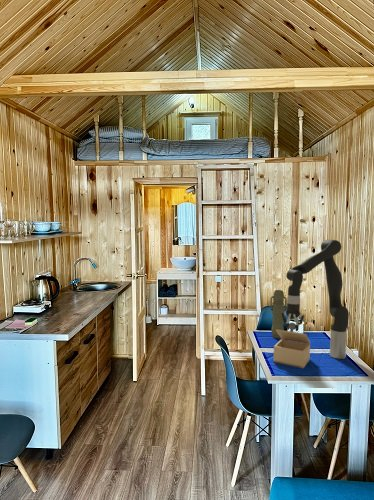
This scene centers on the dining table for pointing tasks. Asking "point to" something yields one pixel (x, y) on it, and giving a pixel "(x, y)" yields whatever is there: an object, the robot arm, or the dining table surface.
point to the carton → (292, 353)
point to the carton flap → (293, 335)
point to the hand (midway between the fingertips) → (292, 330)
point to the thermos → (277, 311)
